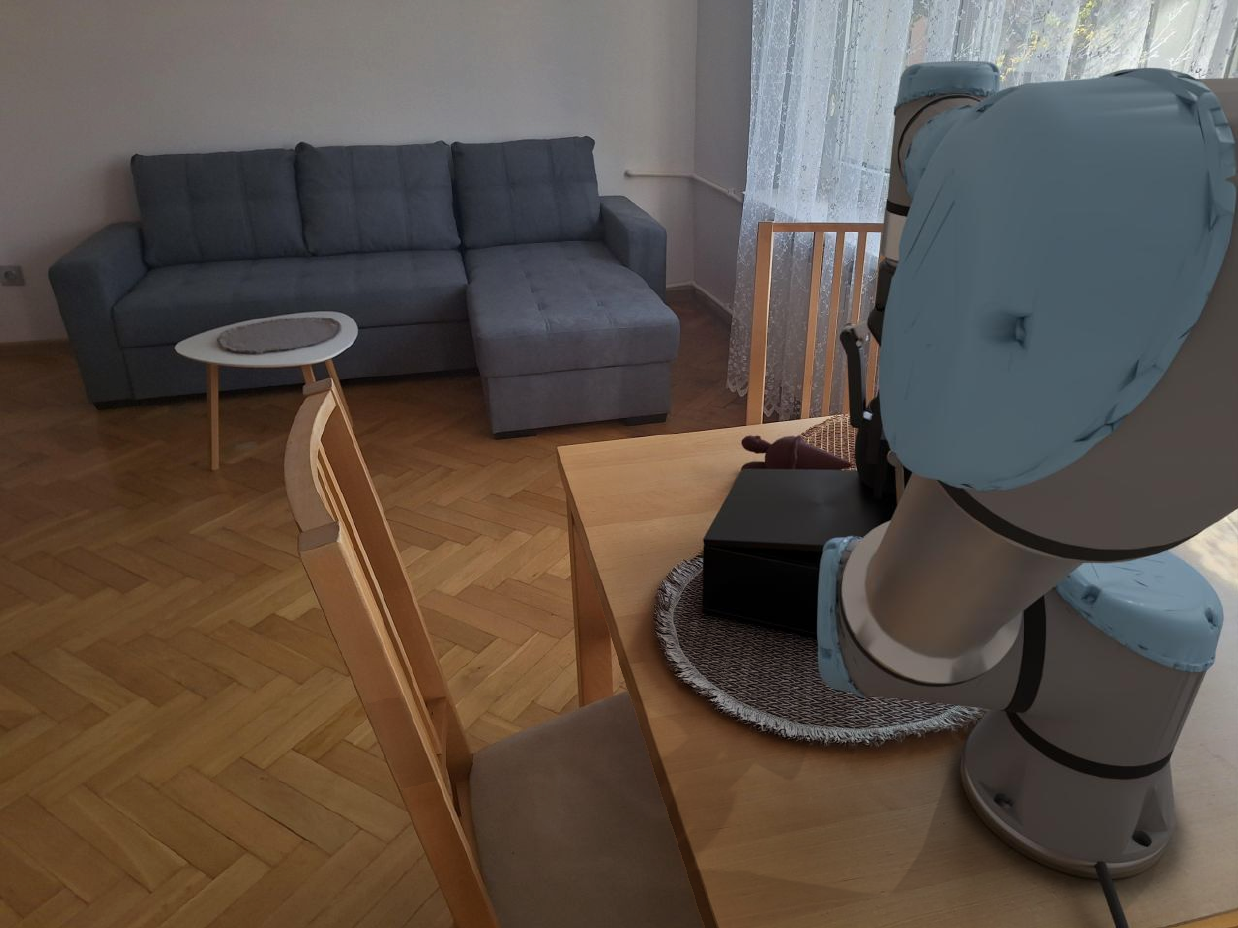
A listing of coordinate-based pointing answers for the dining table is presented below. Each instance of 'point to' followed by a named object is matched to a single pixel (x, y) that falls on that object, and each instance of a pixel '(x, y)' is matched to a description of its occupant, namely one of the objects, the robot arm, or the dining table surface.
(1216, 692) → the dining table surface
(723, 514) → the lid
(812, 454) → the icecream
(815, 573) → the black open box
